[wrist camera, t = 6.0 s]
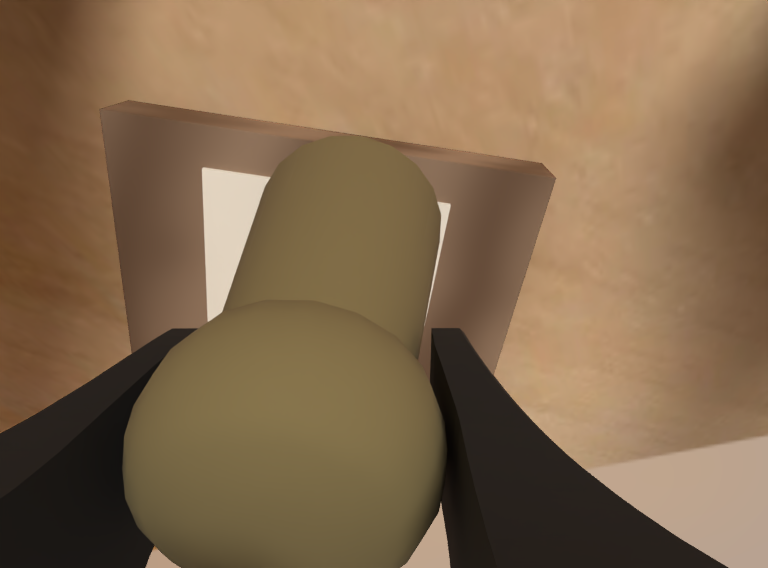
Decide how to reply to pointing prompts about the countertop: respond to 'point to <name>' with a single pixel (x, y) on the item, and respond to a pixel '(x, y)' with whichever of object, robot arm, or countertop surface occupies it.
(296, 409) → the olive pawn piece
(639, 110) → the countertop surface
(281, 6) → the countertop surface
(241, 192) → the walnut plinth
